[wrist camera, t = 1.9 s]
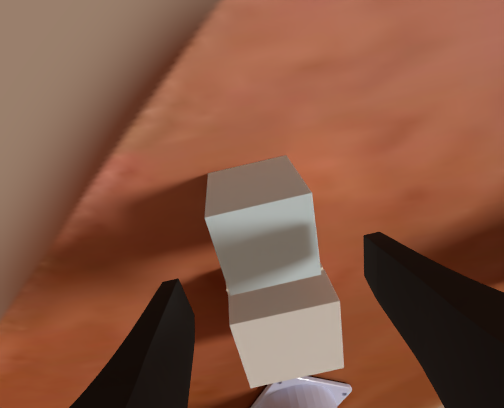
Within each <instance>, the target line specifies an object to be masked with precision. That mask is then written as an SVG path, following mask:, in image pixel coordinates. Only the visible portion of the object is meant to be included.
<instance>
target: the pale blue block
mask: <svg viewBox="0 0 504 408" xmlns="http://www.w3.org/2000/svg"><path fill="white" fill-rule="evenodd" d="M205 221H206V224H207V227H208V230H209V233H210V236H211V239H212V242H213V245H214V248H215V251H216V254H217V257H218V260H219V263H220V266H221V269H222V272H223V275H224V278H225V281H226V284H227V287H228V290H229V293H230V296H231V295H235V294H240V293H244V292H248V291H253V290H257V289H261V288H265V287H270V286H274V285H278V284H283V283H287V282H291V281H296V280H300V279H304V278H309V277H313V276H317V275H321V268H320V259H319V250H318V241H317V233H316V224H315V215H314V207H313V198H312V192H311V191H310V189H309V188H308V186H307V185H306V183H305V182H304V180H303V179H302V178H301V176H300V175H299V173H298V172H297V170H296V169H295V167H294V166H293V164H292V163H291V161H290V160H289V159H288V157H287V156H286V155H285V156H281V157H276V158H272V159H268V160H263V161H259V162H255V163H251V164H246V165H242V166H238V167H233V168H229V169H225V170H220V171H216V172H212V173H208V180H207V193H206V205H205Z"/></svg>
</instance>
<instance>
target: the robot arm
mask: <svg viewBox="0 0 504 408" xmlns="http://www.w3.org/2000/svg"><path fill="white" fill-rule="evenodd" d="M364 276H365V278H366V280H367V282H368V284H369V286H370V288H371V290H372V292H373V294H374V295H375V297H376V299H377V301H378V302H379V304H380V305H381V307H382V308H383V310H384V311H385V313H386V314H387V316H388V317H389V318H390V320H391V321H392V323H393V324H394V326H395V327H396V329H397V330H398V332H399V333H400V334H401V336H402V337H403V339H404V340H405V342H406V343H407V345H408V346H409V348H410V349H411V350H412V352H413V353H414V355H415V357H416V358H417V360H418V361H419V363H420V364H421V366H422V368H423V369H424V371H425V373H426V375H427V377H428V378H429V380H430V382H431V384H432V385H433V387H434V389H435V391H436V393H437V394H438V396H439V398H440V400H441V402H442V404H443V405H444V407H445V408H504V292H501V291H499V290H496V289H494V288H491V287H489V286H486V285H484V284H481V283H479V282H477V281H474V280H472V279H470V278H467V277H465V276H463V275H461V274H459V273H457V272H455V271H453V270H450V269H448V268H446V267H444V266H442V265H440V264H438V263H436V262H434V261H432V260H430V259H428V258H427V257H425V256H423V255H421V254H419V253H417V252H415V251H414V250H412V249H410V248H408V247H406V246H404V245H403V244H401V243H399V242H397V241H395V240H394V239H392V238H390V237H388V236H386V235H385V234H383V233H381V232H376V233H372V234H368V235H364ZM194 343H195V321H194V313H193V311H192V308H191V306H190V304H189V302H188V299H187V297H186V295H185V292H184V290H183V288H182V286H181V283H180V281H179V279H174V280H169V281H165V282H162V284H161V286H160V287H159V289H158V290H157V292H156V293H155V295H154V296H153V298H152V299H151V301H150V303H149V304H148V306H147V307H146V309H145V310H144V312H143V314H142V315H141V317H140V318H139V320H138V321H137V323H136V324H135V326H134V327H133V329H132V330H131V332H130V333H129V335H128V336H127V337H126V339H125V340H124V341H123V343H122V344H121V346H120V347H119V348H118V350H117V351H116V353H115V354H114V355H113V357H112V358H111V359H110V361H109V362H108V363H107V364H106V366H105V367H104V368H103V369H102V371H101V372H100V373H99V374H98V376H97V377H96V378H95V379H94V380H93V382H92V383H91V384H90V385H89V386H88V388H87V389H86V390H85V391H84V392H83V393H82V394H81V396H80V397H79V398H78V399H77V400H76V401H75V402H74V403H73V404H72V405H71V406H70V407H69V408H187V406H188V397H189V388H190V380H191V371H192V362H193V353H194ZM351 391H352V388H351V386H350V385H349V384H345V383H340V382H335V381H329V380H324V379H319V378H314V377H309V376H304V377H300V378H295V379H290V380H286V381H281V382H277V383H272V384H268V385H267V387H266V388H265V389H264V391H263V392H262V393H261V395H260V396H259V397H258V398H257V400H256V401H255V402H254V404H253V405H252V406H251V408H337V406H338V405H339V404H340V403H341V402H342V401H343V400H344V399H345V398H346V397H347V396H348V395H349V394H350V393H351Z"/></svg>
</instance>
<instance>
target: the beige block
mask: <svg viewBox="0 0 504 408" xmlns="http://www.w3.org/2000/svg"><path fill="white" fill-rule="evenodd" d="M228 299H229V325H230V328H231V331H232V334H233V337H234V340H235V343H236V346H237V349H238V352H239V355H240V357H241V360H242V363H243V366H244V369H245V372H246V375H247V378H248V381H249V384H250V387H251V388H254V387H258V386H263V385H267V384H272V383H277V382H281V381H286V380H290V379H295V378H300V377H304V376H309V375H313V374H318V373H322V372H327V371H332V370H336V369H341V368H344V360H343V344H342V328H341V312H340V300H339V298H338V296H337V294H336V292H335V290H334V288H333V286H332V284H331V282H330V280H329V278H328V276H327V274H326V272H325V270H321V275H317V276H313V277H309V278H304V279H300V280H296V281H291V282H287V283H283V284H278V285H274V286H270V287H265V288H261V289H257V290H253V291H248V292H244V293H240V294H235V295H231V296H230V293H229V291H228Z"/></svg>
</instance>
